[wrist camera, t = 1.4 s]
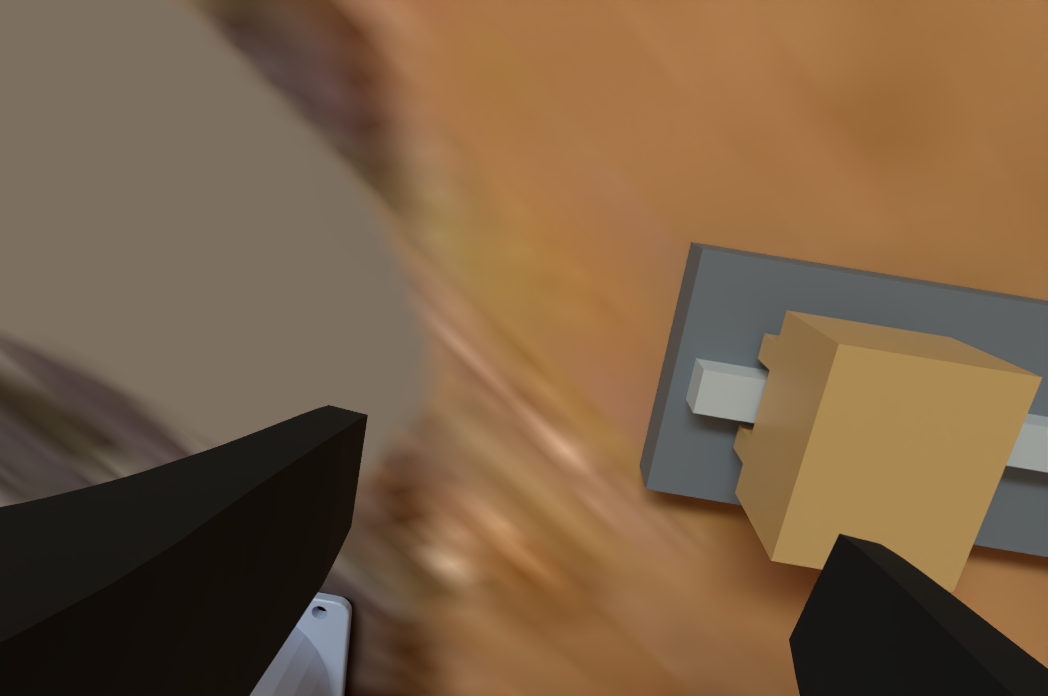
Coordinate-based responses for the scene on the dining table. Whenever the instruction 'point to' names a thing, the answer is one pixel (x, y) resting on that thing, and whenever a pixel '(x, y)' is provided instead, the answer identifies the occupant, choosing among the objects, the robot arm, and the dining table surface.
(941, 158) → the dining table surface
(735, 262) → the track
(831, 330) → the sliding carriage
